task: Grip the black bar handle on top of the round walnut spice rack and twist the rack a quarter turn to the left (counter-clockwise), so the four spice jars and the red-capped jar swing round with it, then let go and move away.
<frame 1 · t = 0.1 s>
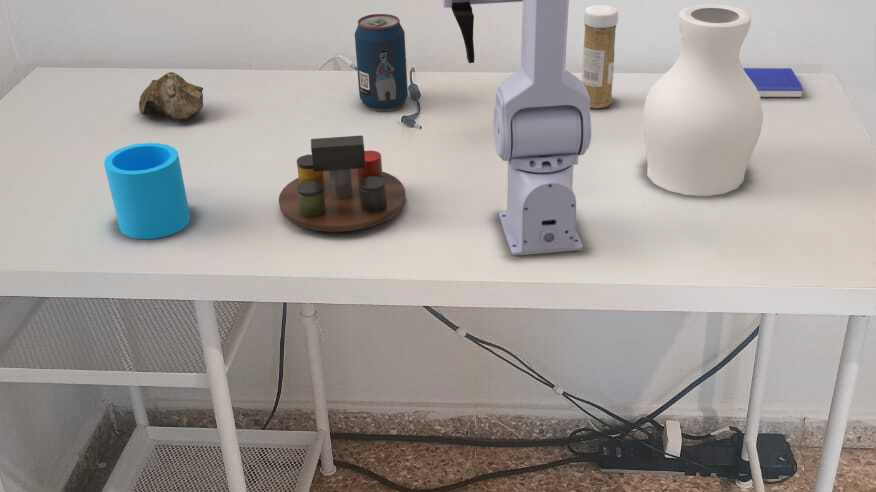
hand: (499, 58, 135), 10 cm above the table, tool pointing down, fingers open, 7 cm apart
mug: (158, 215, 123), on the table
fossilized seashell: (173, 116, 147), on the table
sprinkles bottle: (595, 104, 148), on the table
soda can: (384, 104, 149), on the table
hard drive: (752, 88, 152), on the table
vase: (694, 175, 130), on the table
spice rack: (340, 171, 121), point 5 cm above the table, hinge at 0.0°
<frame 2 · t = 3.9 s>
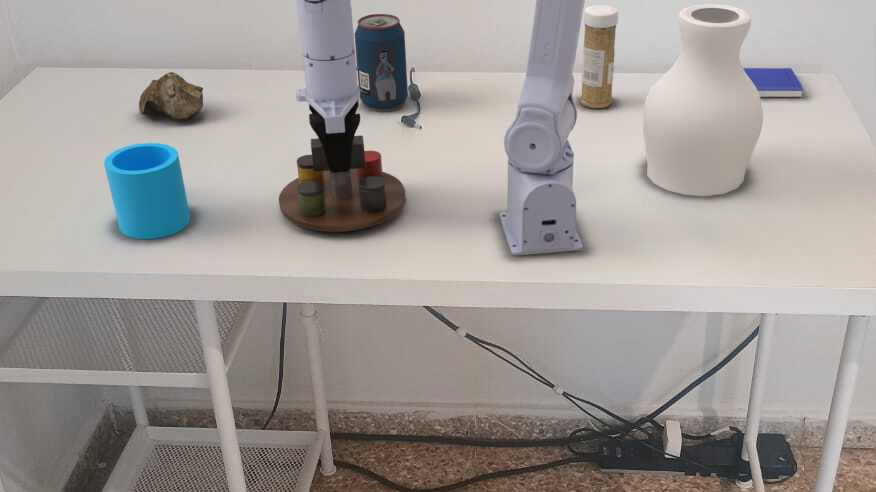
hand: (339, 166, 121), 6 cm above the table, tool pointing down, fingers closed on spice rack, 2 cm apart
spice rack: (340, 171, 121), point 5 cm above the table, hinge at 0.0°, touching gripper
everything else where it was.
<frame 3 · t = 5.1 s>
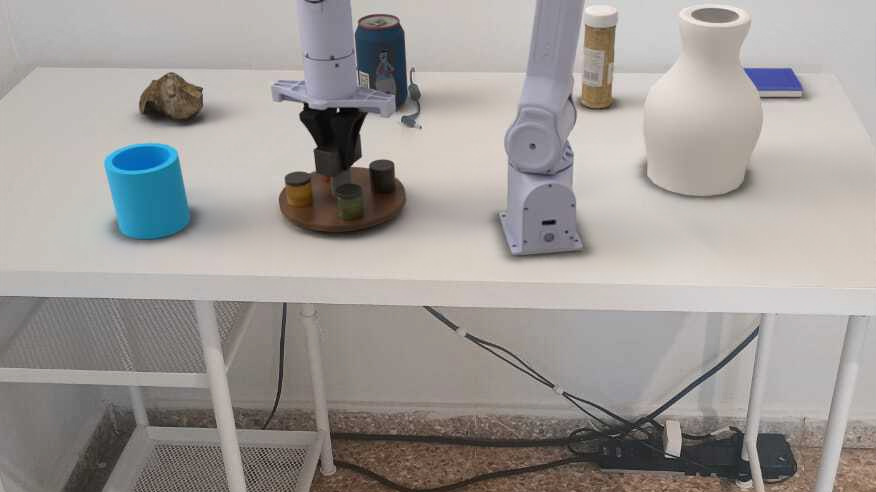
hand: (339, 165, 121), 6 cm above the table, tool pointing down, fingers closed, pressing on spice rack
spice rack: (340, 171, 121), point 5 cm above the table, hinge at 54.5°, touching gripper
everything else where it was.
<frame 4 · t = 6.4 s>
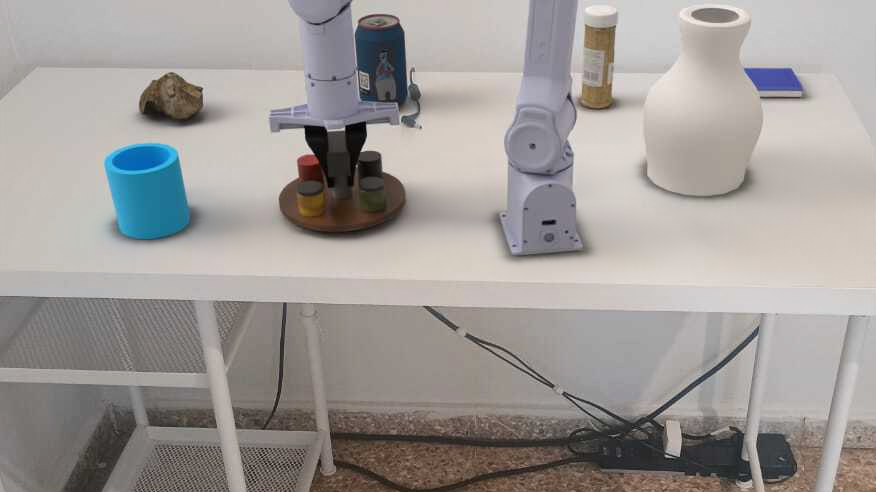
hand: (340, 183, 122), 3 cm above the table, tool pointing down, fingers closed on spice rack, 2 cm apart
spice rack: (340, 171, 121), point 5 cm above the table, hinge at 89.3°, touching gripper
everything else where it was.
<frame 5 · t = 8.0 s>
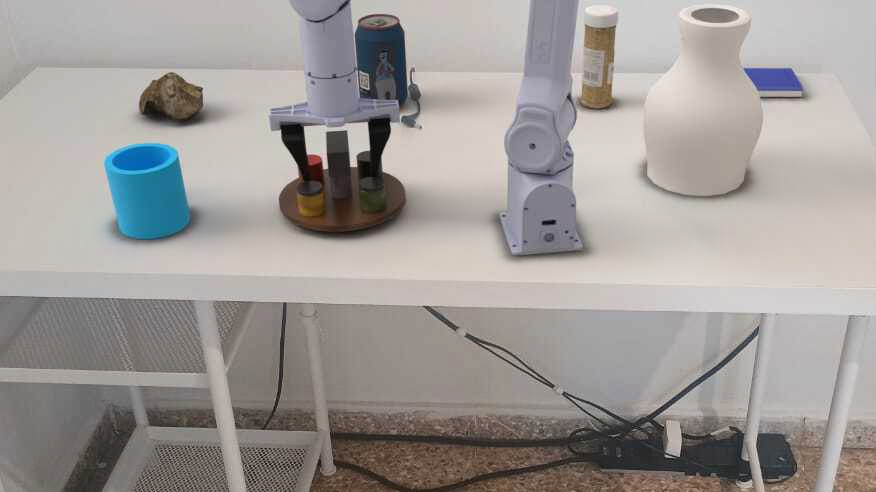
hand: (341, 181, 122), 4 cm above the table, tool pointing down, fingers open, 7 cm apart
spice rack: (340, 171, 121), point 5 cm above the table, hinge at 89.3°
everything else where it was.
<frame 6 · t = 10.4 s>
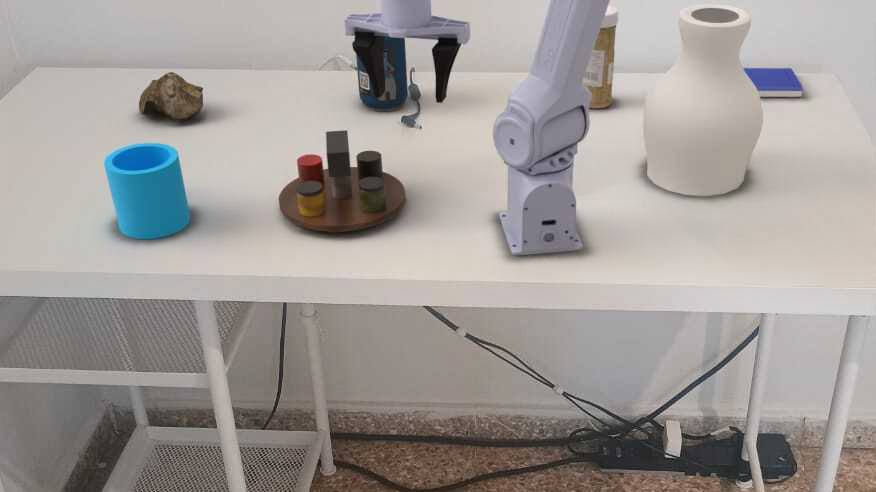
hand: (410, 97, 124), 10 cm above the table, tool pointing down, fingers open, 7 cm apart
nothing on the table moved.
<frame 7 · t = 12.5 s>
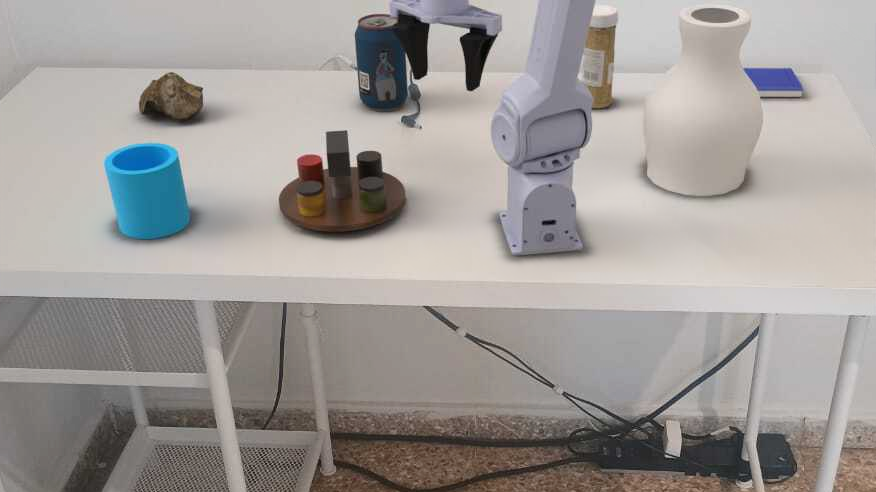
hand: (446, 82, 128), 10 cm above the table, tool pointing down, fingers open, 7 cm apart
nothing on the table moved.
at the end: spice rack at +89° (first picture: +0°) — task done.
